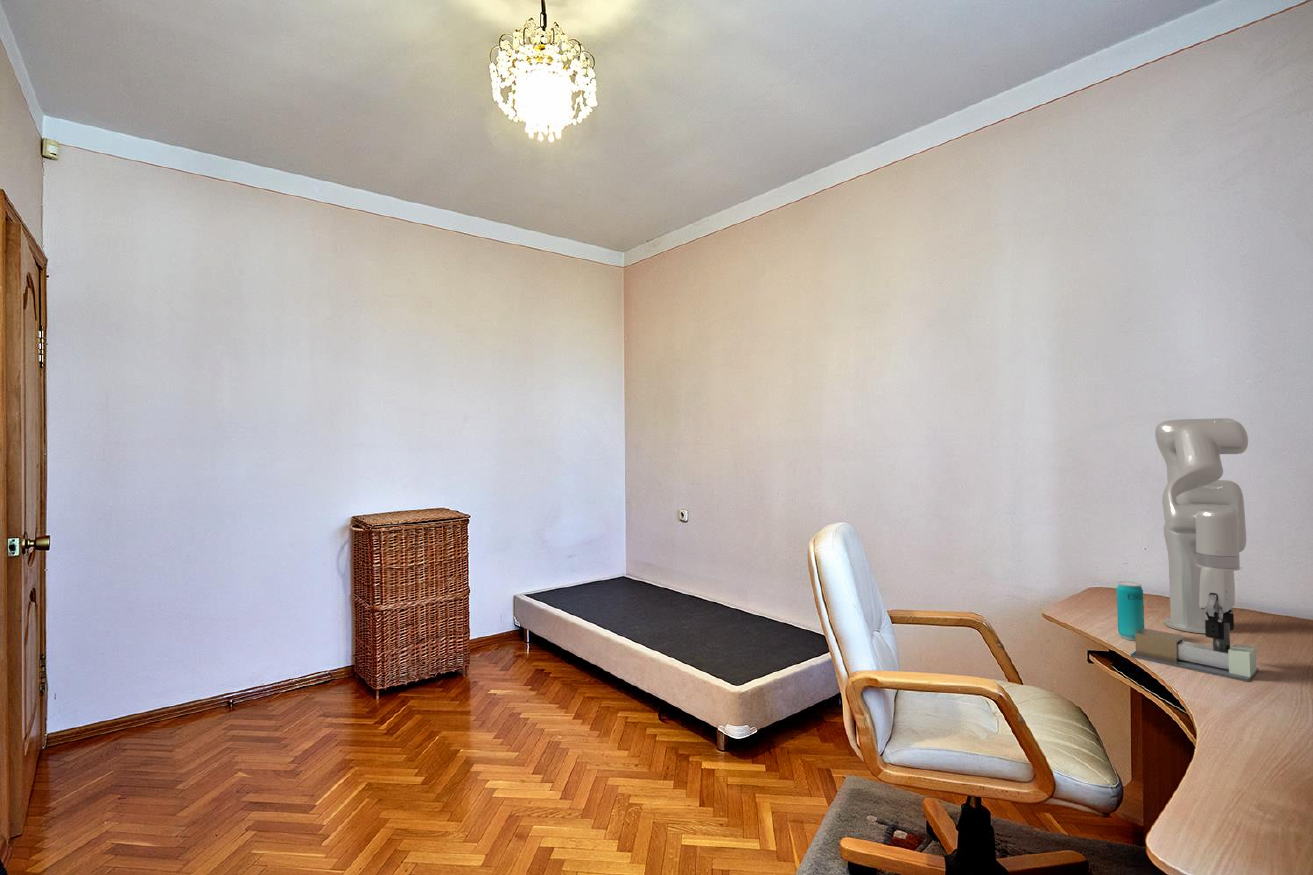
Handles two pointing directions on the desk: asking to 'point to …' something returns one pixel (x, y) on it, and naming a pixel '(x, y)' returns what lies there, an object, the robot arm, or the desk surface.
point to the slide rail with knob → (1172, 653)
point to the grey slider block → (1207, 651)
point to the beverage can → (1130, 609)
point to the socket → (1242, 660)
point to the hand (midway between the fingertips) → (1219, 633)
